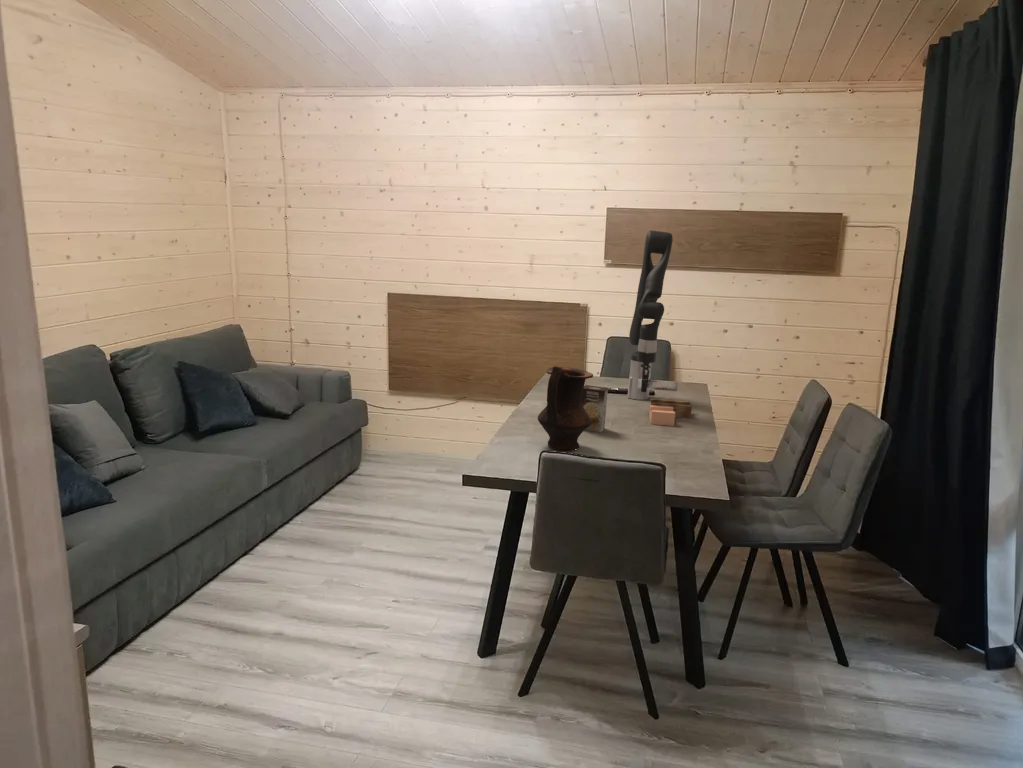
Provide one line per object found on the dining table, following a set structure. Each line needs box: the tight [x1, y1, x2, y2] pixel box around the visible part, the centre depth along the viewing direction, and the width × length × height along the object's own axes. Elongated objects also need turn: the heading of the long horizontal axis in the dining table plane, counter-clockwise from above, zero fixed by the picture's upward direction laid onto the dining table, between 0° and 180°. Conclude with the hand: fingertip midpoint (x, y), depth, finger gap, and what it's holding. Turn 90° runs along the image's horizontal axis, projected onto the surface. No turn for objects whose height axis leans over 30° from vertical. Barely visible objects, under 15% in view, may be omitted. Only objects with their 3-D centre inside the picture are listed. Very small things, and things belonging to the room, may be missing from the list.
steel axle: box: [637, 379, 679, 392], centre depth 301 cm, size 16×4×4 cm, turn 82°
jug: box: [537, 364, 594, 452], centre depth 247 cm, size 21×18×30 cm
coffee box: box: [581, 384, 609, 433], centre depth 274 cm, size 9×6×16 cm
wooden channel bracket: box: [649, 398, 693, 419], centre depth 302 cm, size 16×9×5 cm, turn 83°
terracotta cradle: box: [648, 404, 676, 427], centre depth 290 cm, size 9×11×5 cm
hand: (643, 390), depth 303 cm, fingers closed on steel axle, 4 cm apart
